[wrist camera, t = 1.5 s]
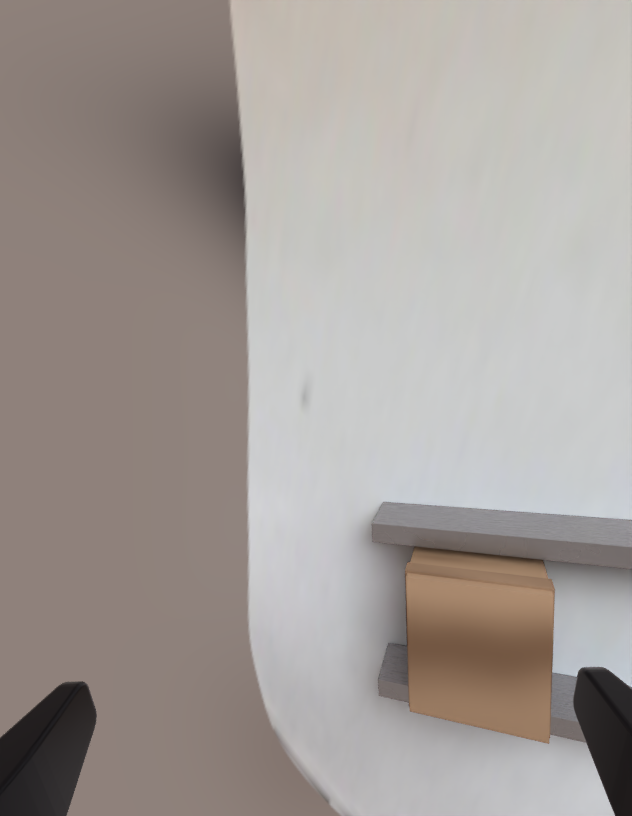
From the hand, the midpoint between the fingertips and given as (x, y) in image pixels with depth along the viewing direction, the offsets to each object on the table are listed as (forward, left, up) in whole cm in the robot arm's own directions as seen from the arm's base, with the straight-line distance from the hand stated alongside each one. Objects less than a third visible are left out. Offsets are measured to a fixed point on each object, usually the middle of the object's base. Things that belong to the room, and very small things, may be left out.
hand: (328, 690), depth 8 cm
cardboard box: (-8, -3, -17) cm, 19 cm away
